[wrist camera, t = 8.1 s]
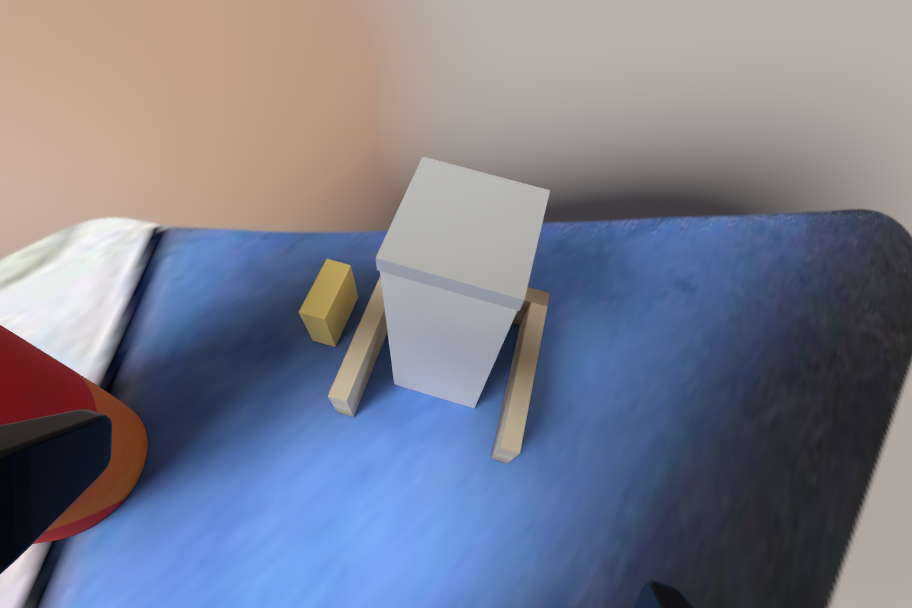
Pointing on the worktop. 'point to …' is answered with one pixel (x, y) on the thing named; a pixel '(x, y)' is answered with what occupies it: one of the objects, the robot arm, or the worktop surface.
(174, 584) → the worktop surface
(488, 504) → the worktop surface
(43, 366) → the paper cup
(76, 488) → the robot arm
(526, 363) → the bay
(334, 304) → the mustard block
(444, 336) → the white plug
